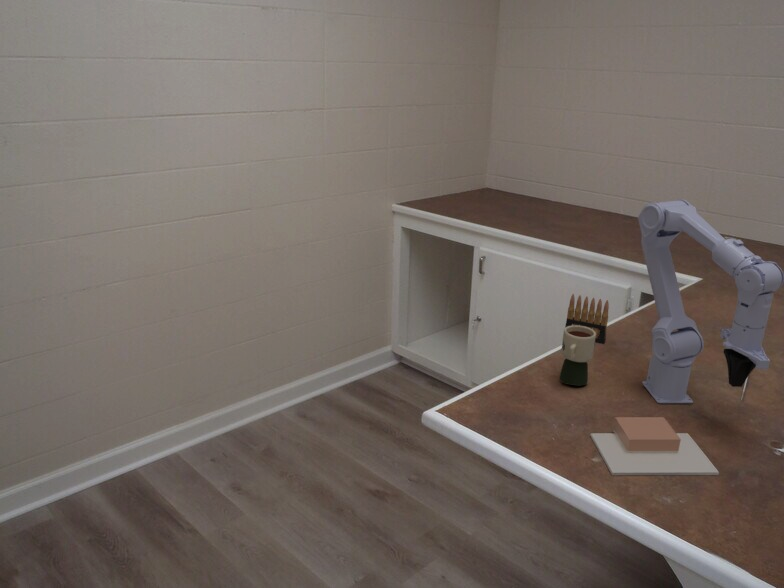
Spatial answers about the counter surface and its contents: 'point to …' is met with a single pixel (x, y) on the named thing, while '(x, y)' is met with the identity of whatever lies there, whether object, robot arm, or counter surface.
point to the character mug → (577, 354)
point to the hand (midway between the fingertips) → (735, 385)
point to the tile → (646, 435)
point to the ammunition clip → (589, 317)
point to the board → (653, 458)
